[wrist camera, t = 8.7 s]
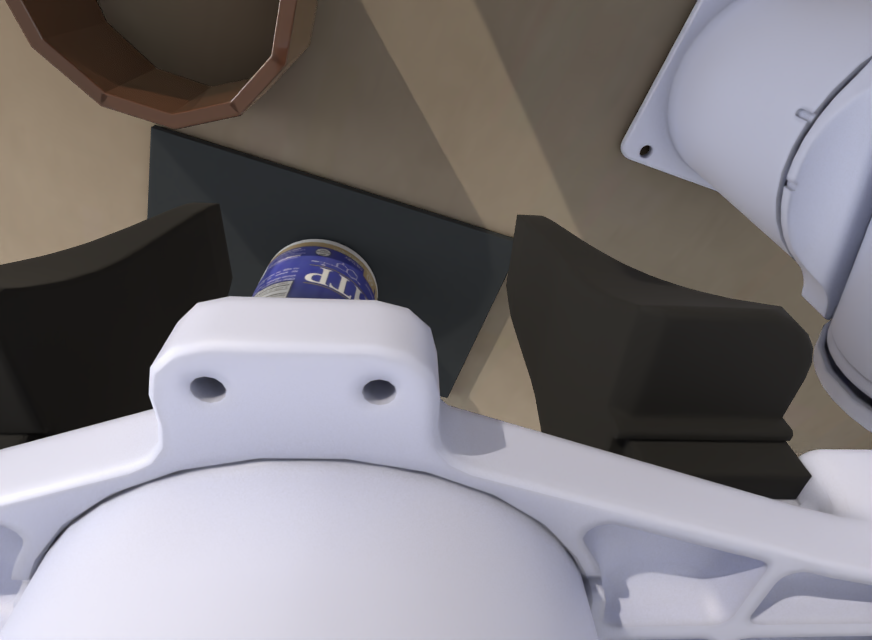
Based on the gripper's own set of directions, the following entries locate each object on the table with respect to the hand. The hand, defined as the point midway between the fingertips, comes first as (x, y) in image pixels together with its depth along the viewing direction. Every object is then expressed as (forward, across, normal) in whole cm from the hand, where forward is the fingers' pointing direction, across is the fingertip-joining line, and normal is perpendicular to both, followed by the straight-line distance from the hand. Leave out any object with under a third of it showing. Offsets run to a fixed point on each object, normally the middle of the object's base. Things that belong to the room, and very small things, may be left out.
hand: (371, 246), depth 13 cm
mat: (+10, +3, +7) cm, 13 cm away
